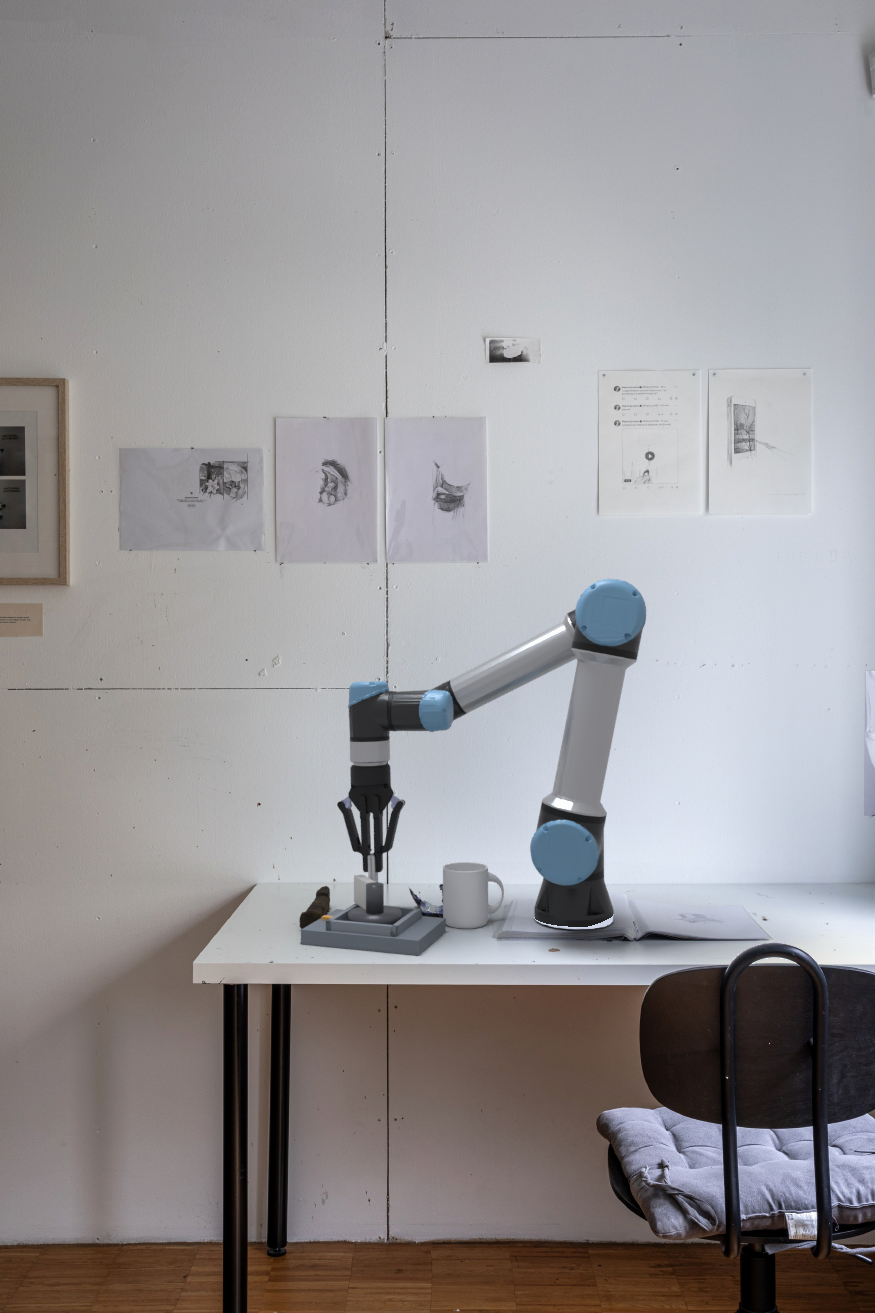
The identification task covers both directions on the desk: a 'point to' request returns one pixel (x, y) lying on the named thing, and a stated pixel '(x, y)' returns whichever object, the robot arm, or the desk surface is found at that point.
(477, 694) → the robot arm
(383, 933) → the panel
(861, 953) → the desk surface
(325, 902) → the dark brown lumpy bar
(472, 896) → the mug
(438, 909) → the snack package
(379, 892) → the dial
